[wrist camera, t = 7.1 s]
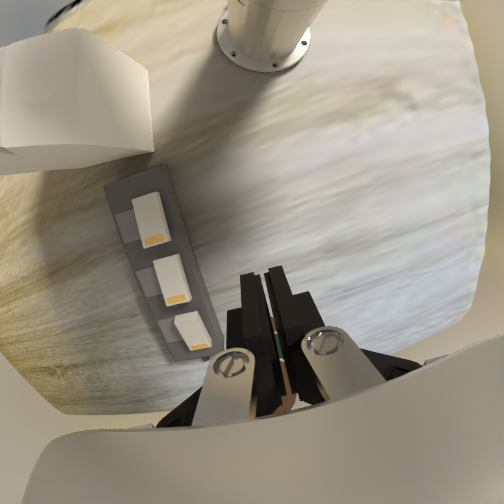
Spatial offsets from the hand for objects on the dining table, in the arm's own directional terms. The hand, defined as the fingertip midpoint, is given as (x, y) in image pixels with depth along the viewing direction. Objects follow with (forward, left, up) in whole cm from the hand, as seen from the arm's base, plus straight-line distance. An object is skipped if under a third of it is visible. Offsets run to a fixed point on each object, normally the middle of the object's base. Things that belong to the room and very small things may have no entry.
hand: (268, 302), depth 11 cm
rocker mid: (+7, -11, -23) cm, 26 cm away
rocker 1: (-1, -11, -23) cm, 25 cm away
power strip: (+8, -13, -28) cm, 32 cm away
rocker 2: (+15, -11, -23) cm, 29 cm away
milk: (-16, -15, -28) cm, 36 cm away
